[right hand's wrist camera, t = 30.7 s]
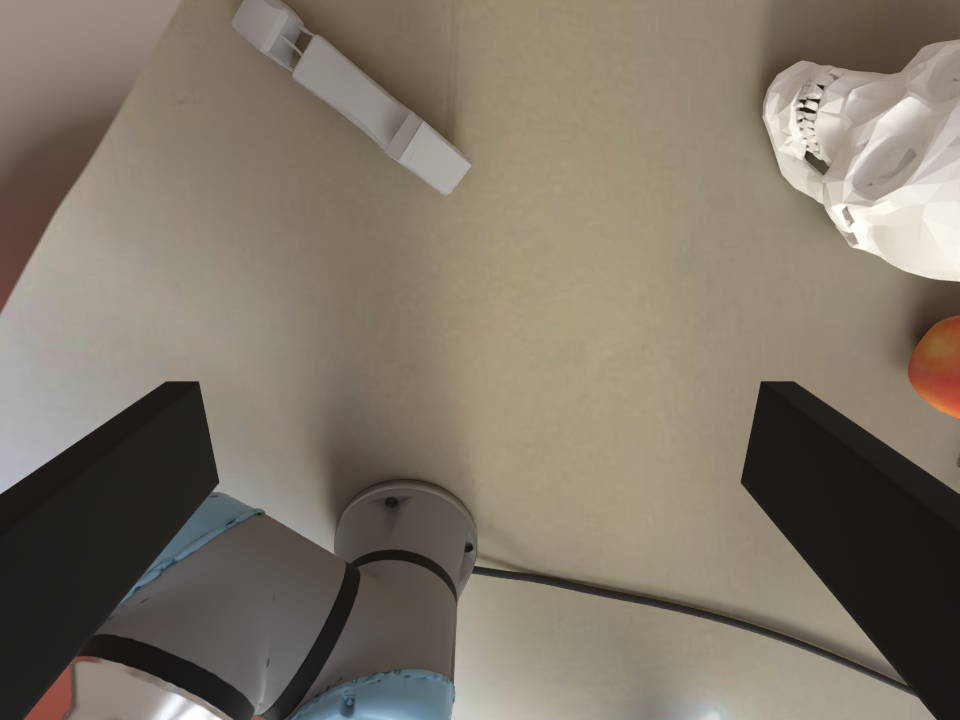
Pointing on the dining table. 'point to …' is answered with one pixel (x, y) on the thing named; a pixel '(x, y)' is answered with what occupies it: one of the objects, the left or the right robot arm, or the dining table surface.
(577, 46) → the dining table surface
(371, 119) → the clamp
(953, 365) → the apple
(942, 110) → the skull
